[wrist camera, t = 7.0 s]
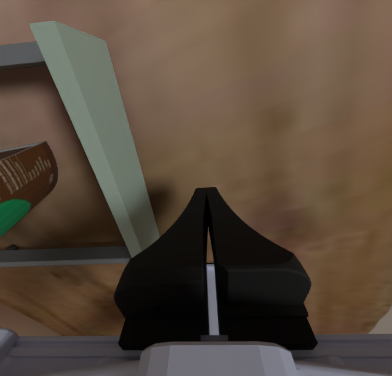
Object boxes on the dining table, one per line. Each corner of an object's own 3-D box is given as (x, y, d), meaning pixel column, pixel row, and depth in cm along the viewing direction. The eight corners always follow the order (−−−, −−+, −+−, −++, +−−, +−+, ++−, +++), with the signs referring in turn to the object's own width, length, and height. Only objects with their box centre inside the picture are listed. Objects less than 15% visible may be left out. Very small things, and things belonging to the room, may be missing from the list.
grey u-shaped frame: (164, 243, 20) (155, 286, 16) (8, 249, 21) (-38, 290, 17) (111, 43, 10) (54, 20, 6) (-167, 74, 12) (-370, 71, 8)
